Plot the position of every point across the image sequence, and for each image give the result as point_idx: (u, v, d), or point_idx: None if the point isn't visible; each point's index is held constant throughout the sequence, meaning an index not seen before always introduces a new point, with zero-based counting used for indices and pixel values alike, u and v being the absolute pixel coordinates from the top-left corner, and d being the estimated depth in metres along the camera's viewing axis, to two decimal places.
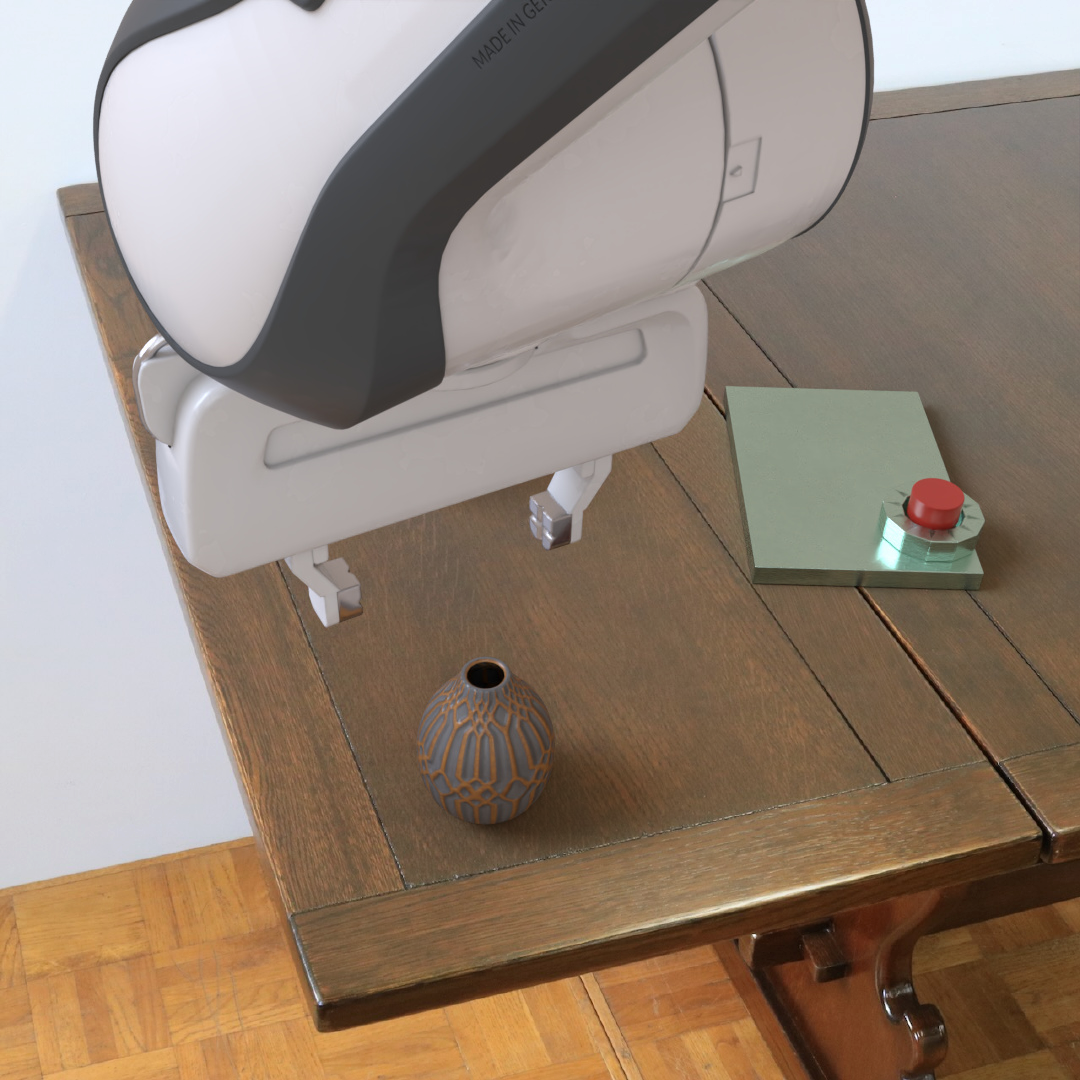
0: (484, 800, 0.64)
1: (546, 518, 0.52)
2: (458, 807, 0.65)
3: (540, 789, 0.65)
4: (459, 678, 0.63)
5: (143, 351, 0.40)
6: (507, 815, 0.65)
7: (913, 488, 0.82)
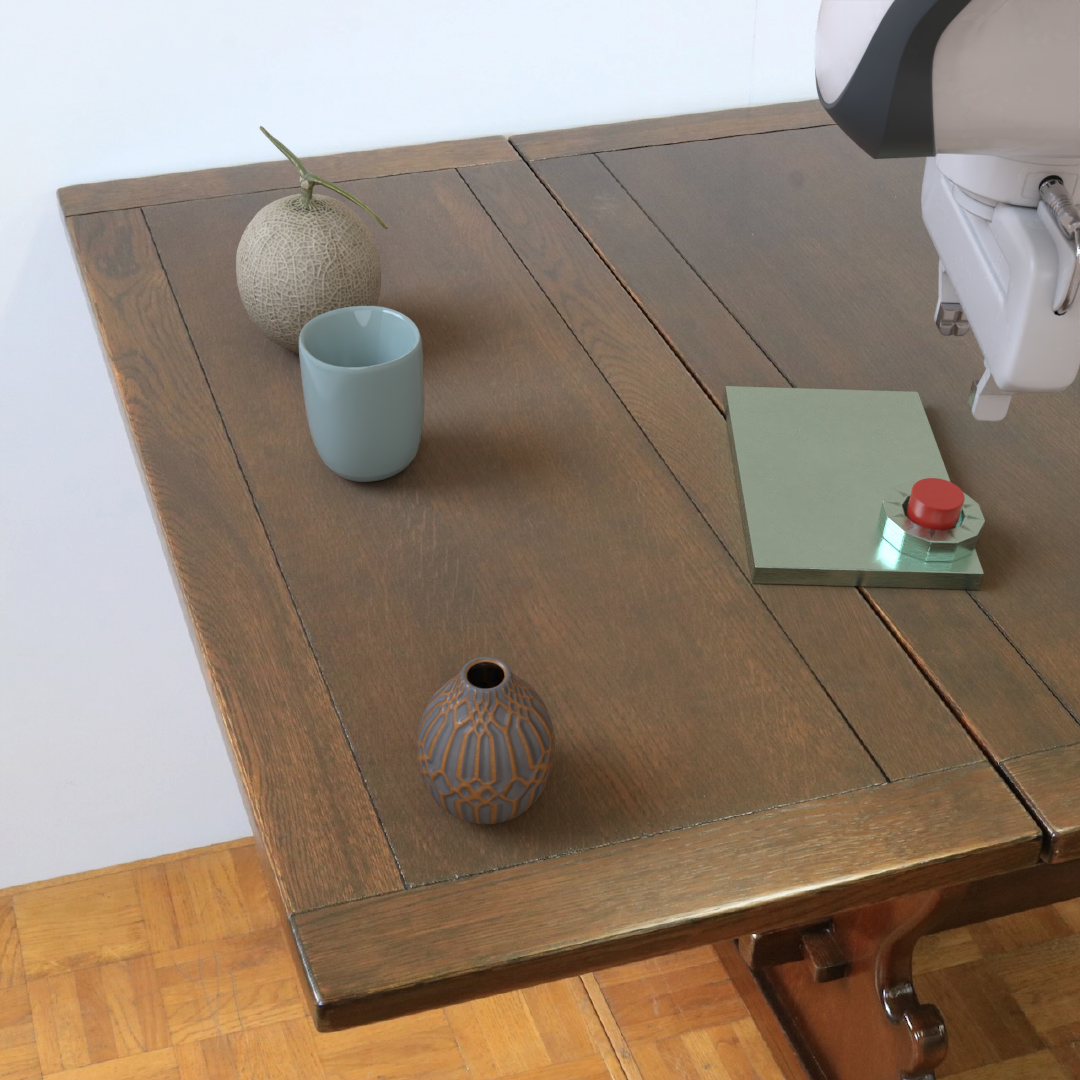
0: (484, 800, 0.64)
1: None
2: (458, 807, 0.65)
3: (540, 789, 0.65)
4: (460, 678, 0.63)
5: None
6: (507, 815, 0.65)
7: (913, 488, 0.82)
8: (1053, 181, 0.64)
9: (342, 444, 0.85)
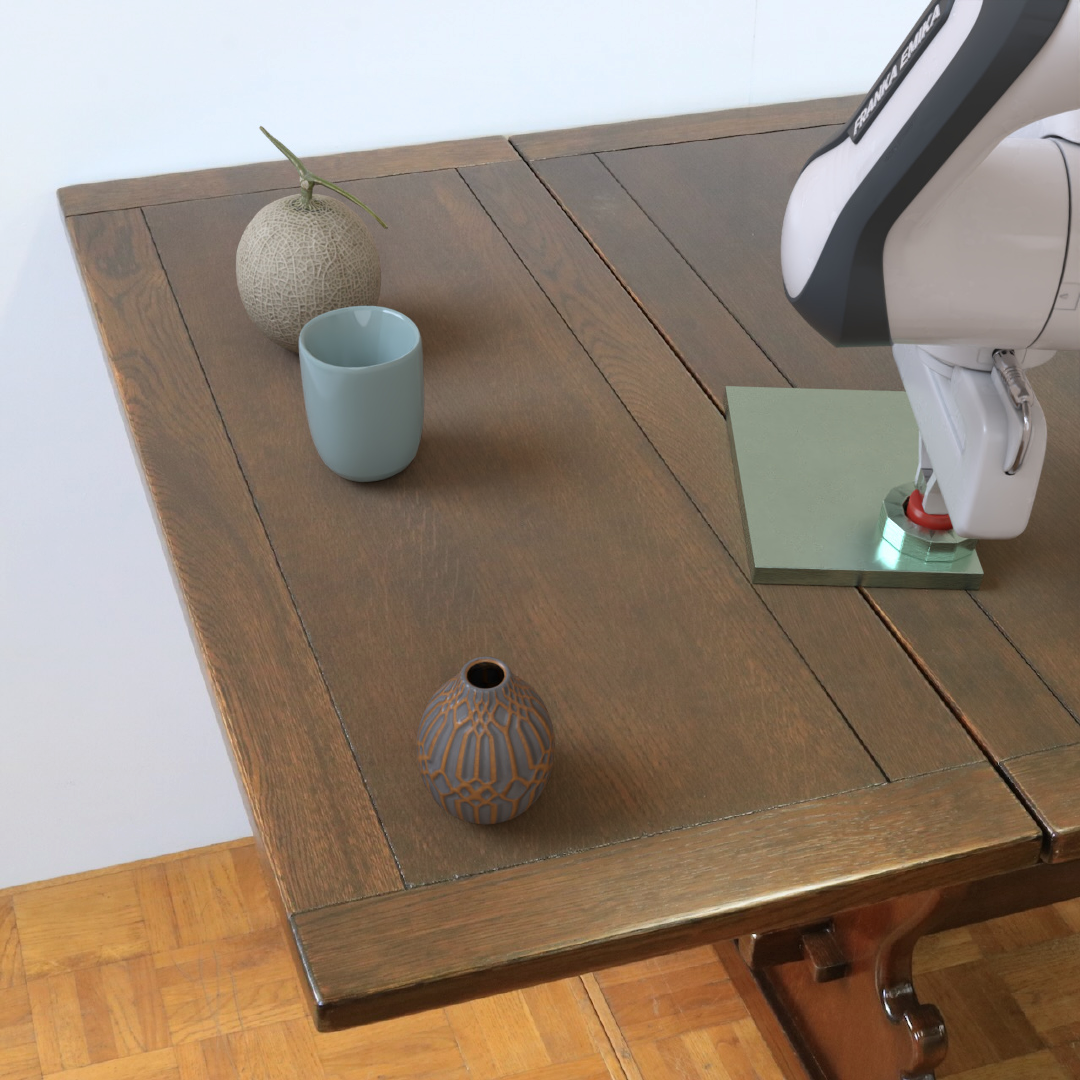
0: (484, 800, 0.64)
1: None
2: (458, 807, 0.65)
3: (540, 789, 0.65)
4: (459, 678, 0.63)
5: (1030, 420, 0.66)
6: (507, 815, 0.65)
7: (911, 496, 0.83)
8: (1005, 351, 0.70)
9: (342, 444, 0.85)
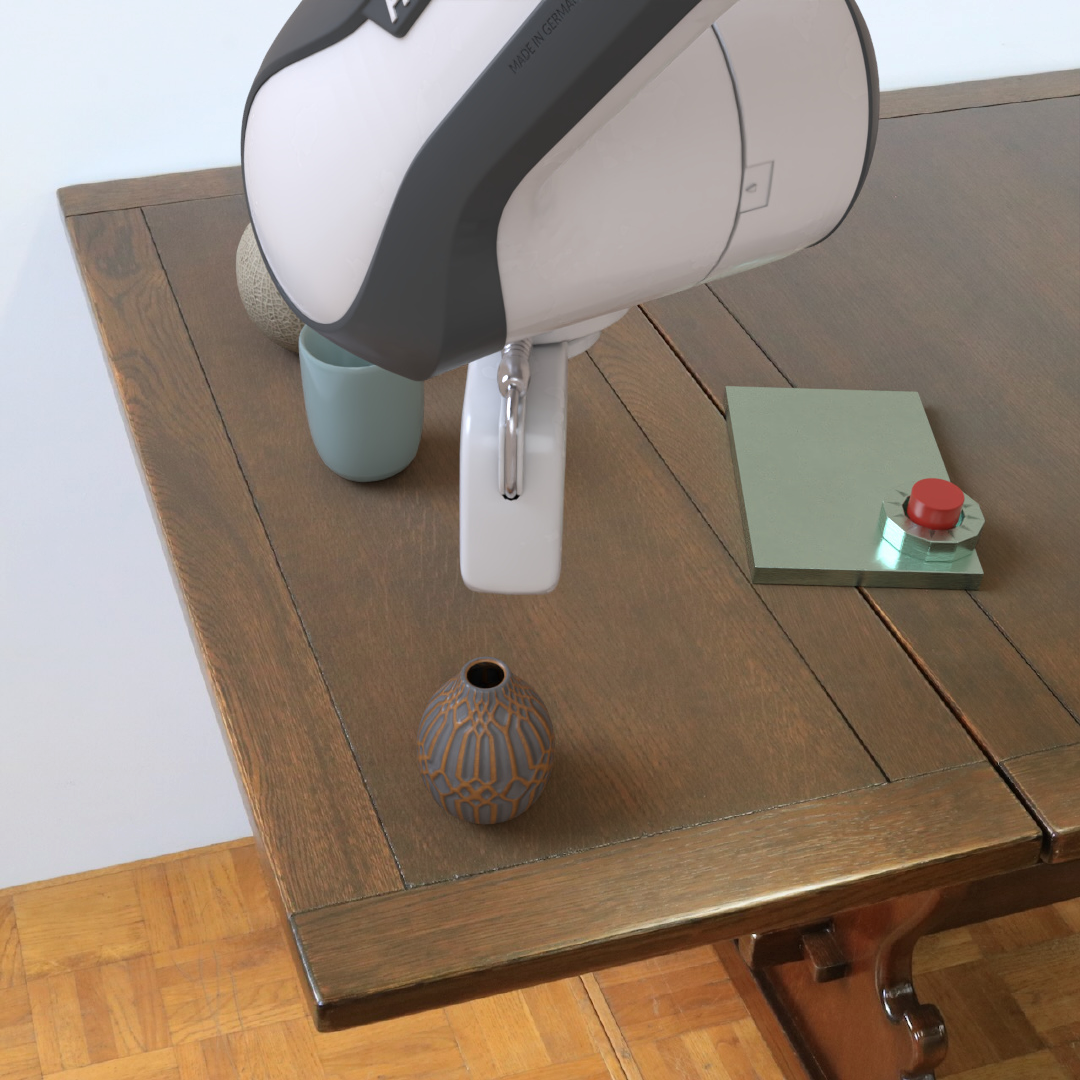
0: (484, 800, 0.64)
1: None
2: (458, 807, 0.65)
3: (540, 789, 0.65)
4: (459, 678, 0.63)
5: (514, 416, 0.43)
6: (507, 814, 0.65)
7: (913, 488, 0.82)
8: None
9: (342, 444, 0.85)
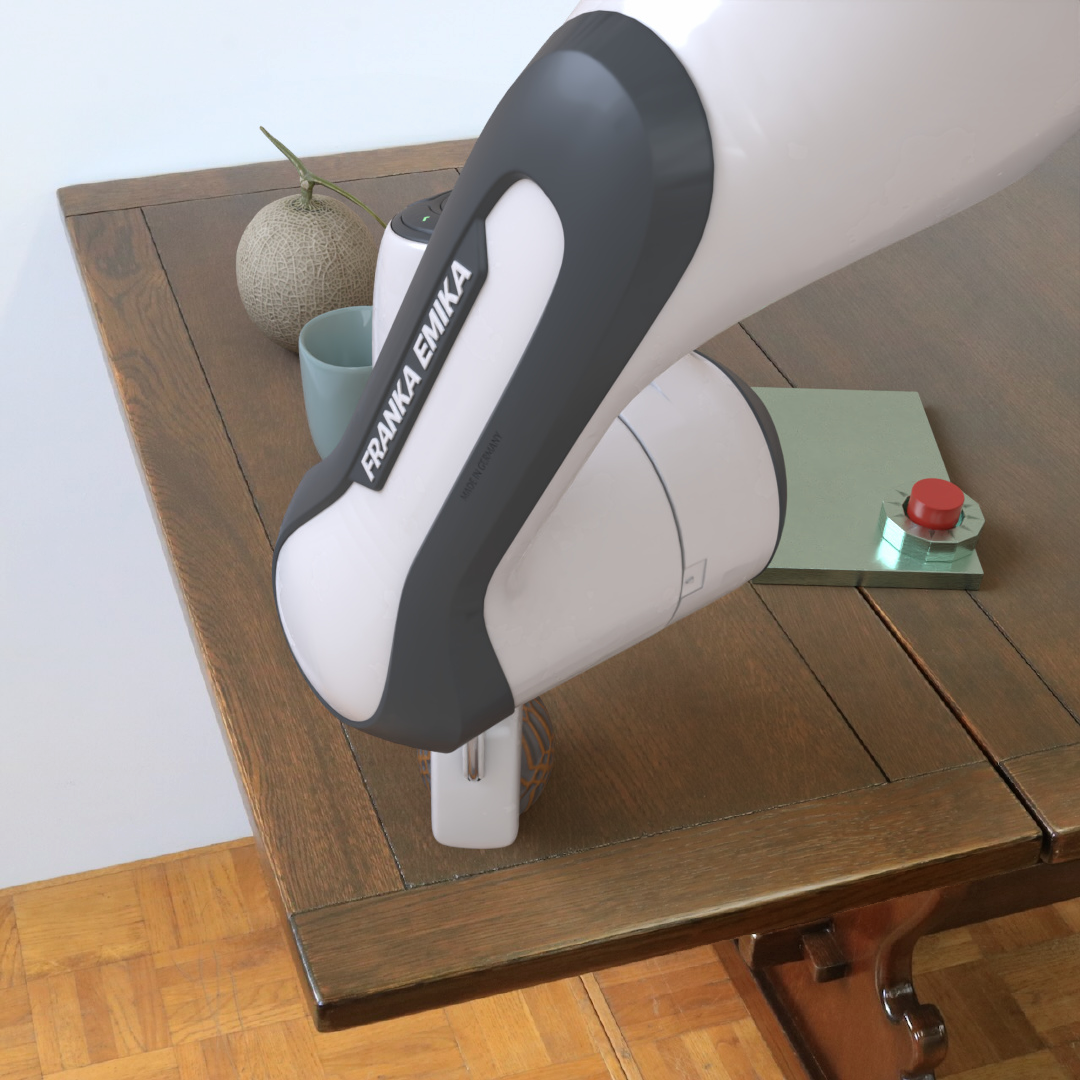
0: None
1: None
2: None
3: (540, 789, 0.65)
4: None
5: None
6: None
7: (913, 488, 0.82)
8: None
9: None
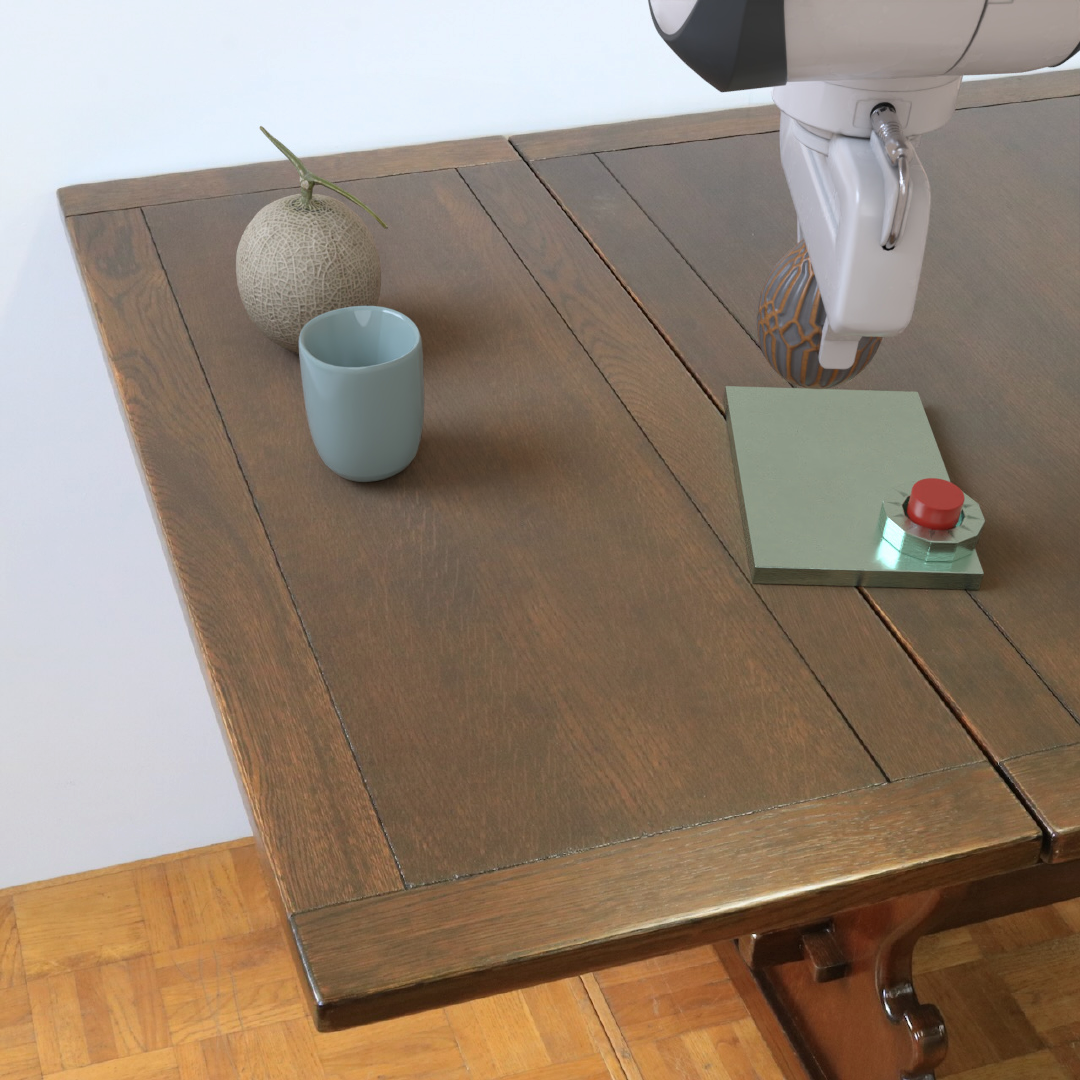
0: None
1: None
2: (805, 359, 0.70)
3: (876, 348, 0.71)
4: None
5: (907, 176, 0.56)
6: (846, 371, 0.71)
7: (913, 488, 0.82)
8: (884, 108, 0.60)
9: (342, 444, 0.85)
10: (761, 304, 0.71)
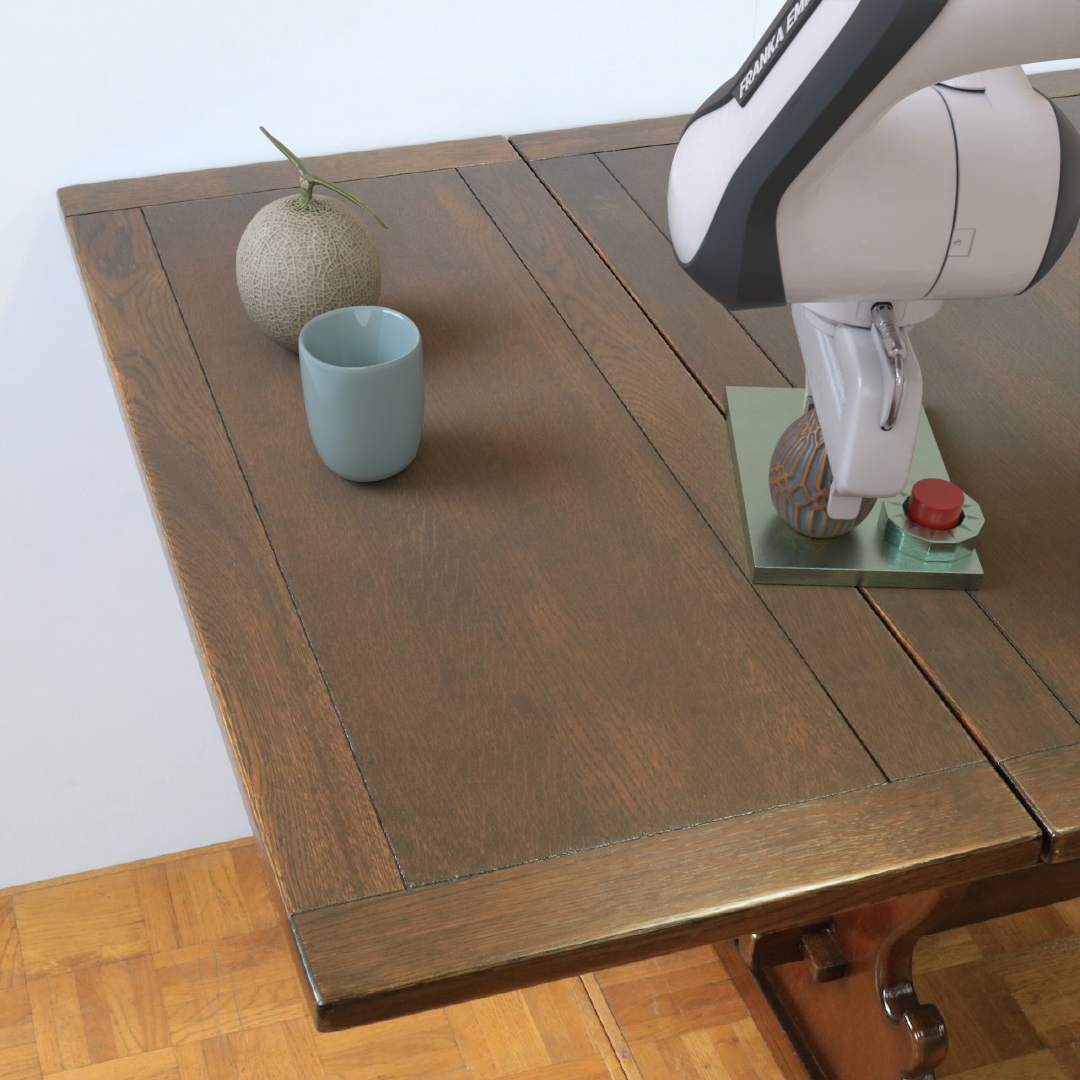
0: None
1: None
2: (811, 516, 0.80)
3: (873, 505, 0.81)
4: None
5: (902, 373, 0.66)
6: (847, 525, 0.81)
7: (913, 488, 0.82)
8: (882, 306, 0.69)
9: (342, 444, 0.85)
10: (772, 466, 0.81)
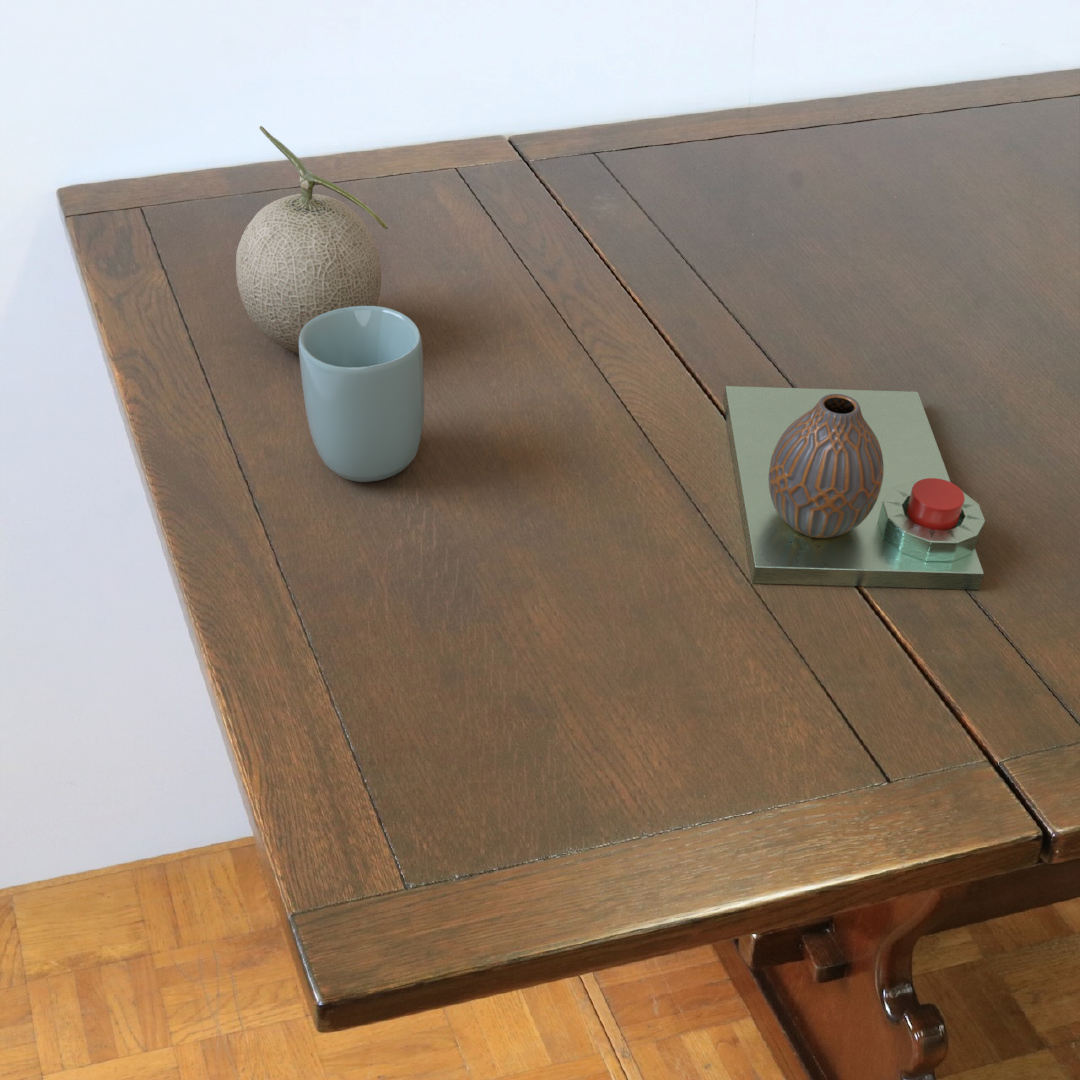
0: (835, 508, 0.80)
1: None
2: (811, 516, 0.80)
3: (873, 505, 0.81)
4: (818, 408, 0.79)
5: None
6: (847, 525, 0.81)
7: (913, 488, 0.82)
8: None
9: (342, 444, 0.85)
10: (772, 466, 0.81)
